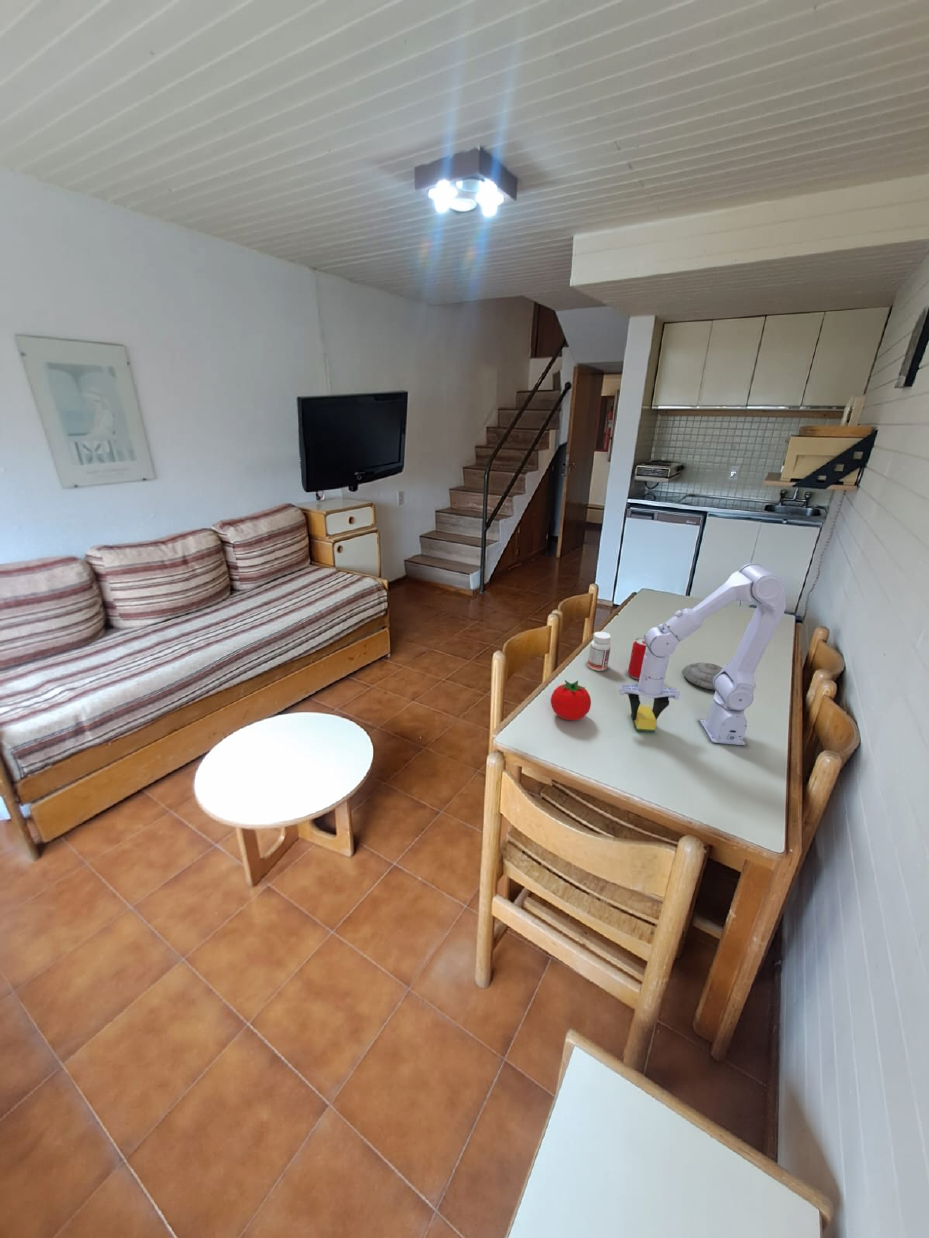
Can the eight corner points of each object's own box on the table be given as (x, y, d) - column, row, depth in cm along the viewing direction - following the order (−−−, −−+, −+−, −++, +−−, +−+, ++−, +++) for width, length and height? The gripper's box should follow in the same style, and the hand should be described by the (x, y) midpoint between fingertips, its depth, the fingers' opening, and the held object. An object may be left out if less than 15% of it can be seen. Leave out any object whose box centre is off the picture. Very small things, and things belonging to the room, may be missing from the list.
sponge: (654, 732, 126) (656, 721, 124) (636, 731, 126) (638, 719, 125) (647, 716, 132) (650, 705, 131) (630, 715, 132) (632, 704, 131)
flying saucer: (672, 678, 153) (675, 662, 151) (695, 664, 162) (699, 650, 160) (720, 699, 142) (725, 683, 140) (742, 683, 151) (747, 668, 149)
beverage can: (645, 671, 156) (652, 637, 151) (650, 681, 150) (657, 646, 146) (625, 670, 157) (632, 636, 152) (629, 679, 151) (636, 644, 146)
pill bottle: (601, 661, 162) (606, 630, 157) (610, 670, 156) (616, 638, 152) (584, 662, 160) (588, 631, 156) (592, 672, 155) (597, 639, 150)
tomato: (594, 726, 128) (600, 693, 124) (555, 729, 126) (560, 695, 122) (580, 704, 137) (585, 673, 133) (544, 706, 136) (547, 675, 132)
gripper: (677, 668, 126) (667, 712, 132) (620, 664, 127) (612, 708, 133) (686, 682, 120) (675, 728, 125) (625, 677, 121) (617, 723, 126)
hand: (643, 719), depth 129 cm, fingers closed on sponge, 4 cm apart
